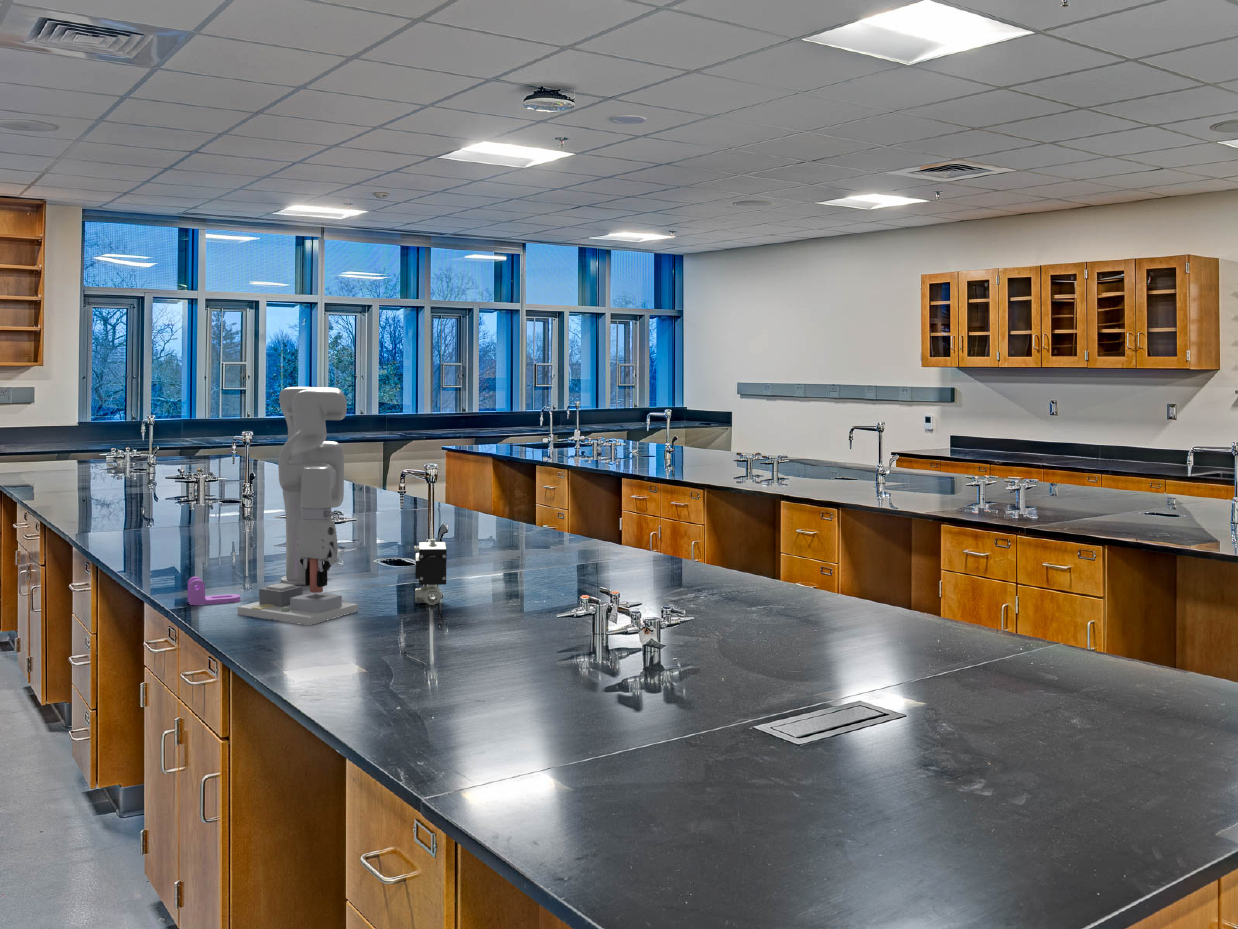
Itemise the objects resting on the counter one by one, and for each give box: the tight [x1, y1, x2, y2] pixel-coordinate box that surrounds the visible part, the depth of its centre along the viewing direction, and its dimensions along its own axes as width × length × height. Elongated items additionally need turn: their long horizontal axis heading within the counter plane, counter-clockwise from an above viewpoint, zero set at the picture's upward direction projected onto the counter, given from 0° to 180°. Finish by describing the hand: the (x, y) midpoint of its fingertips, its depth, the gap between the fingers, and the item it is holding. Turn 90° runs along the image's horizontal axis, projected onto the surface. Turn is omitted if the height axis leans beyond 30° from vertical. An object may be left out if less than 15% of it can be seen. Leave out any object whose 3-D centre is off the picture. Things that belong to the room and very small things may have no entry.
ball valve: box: [413, 538, 448, 606], centre depth 279 cm, size 18×8×18 cm, turn 11°
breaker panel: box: [237, 585, 359, 626], centre depth 264 cm, size 18×24×6 cm
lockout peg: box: [309, 559, 324, 593], centre depth 261 cm, size 3×3×9 cm
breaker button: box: [266, 582, 296, 591], centre depth 266 cm, size 5×5×4 cm
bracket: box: [187, 576, 241, 606], centre depth 275 cm, size 13×6×7 cm, turn 119°
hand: (316, 584), depth 261 cm, fingers closed on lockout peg, 3 cm apart
